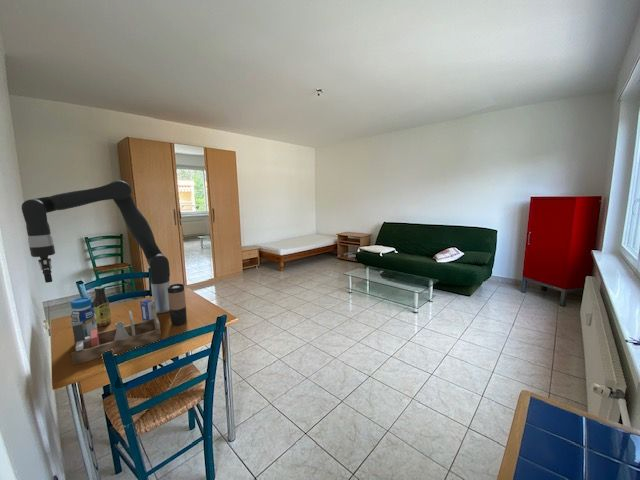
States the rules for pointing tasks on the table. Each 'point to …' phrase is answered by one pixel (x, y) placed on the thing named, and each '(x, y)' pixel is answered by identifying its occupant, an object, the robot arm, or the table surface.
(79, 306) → the blue-lidded jar
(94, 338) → the kicker
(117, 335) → the flask
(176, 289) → the travel mug
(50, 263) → the robot arm
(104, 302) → the sauce bottle
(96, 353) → the brown wooden open box
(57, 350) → the table surface
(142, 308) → the walkman
